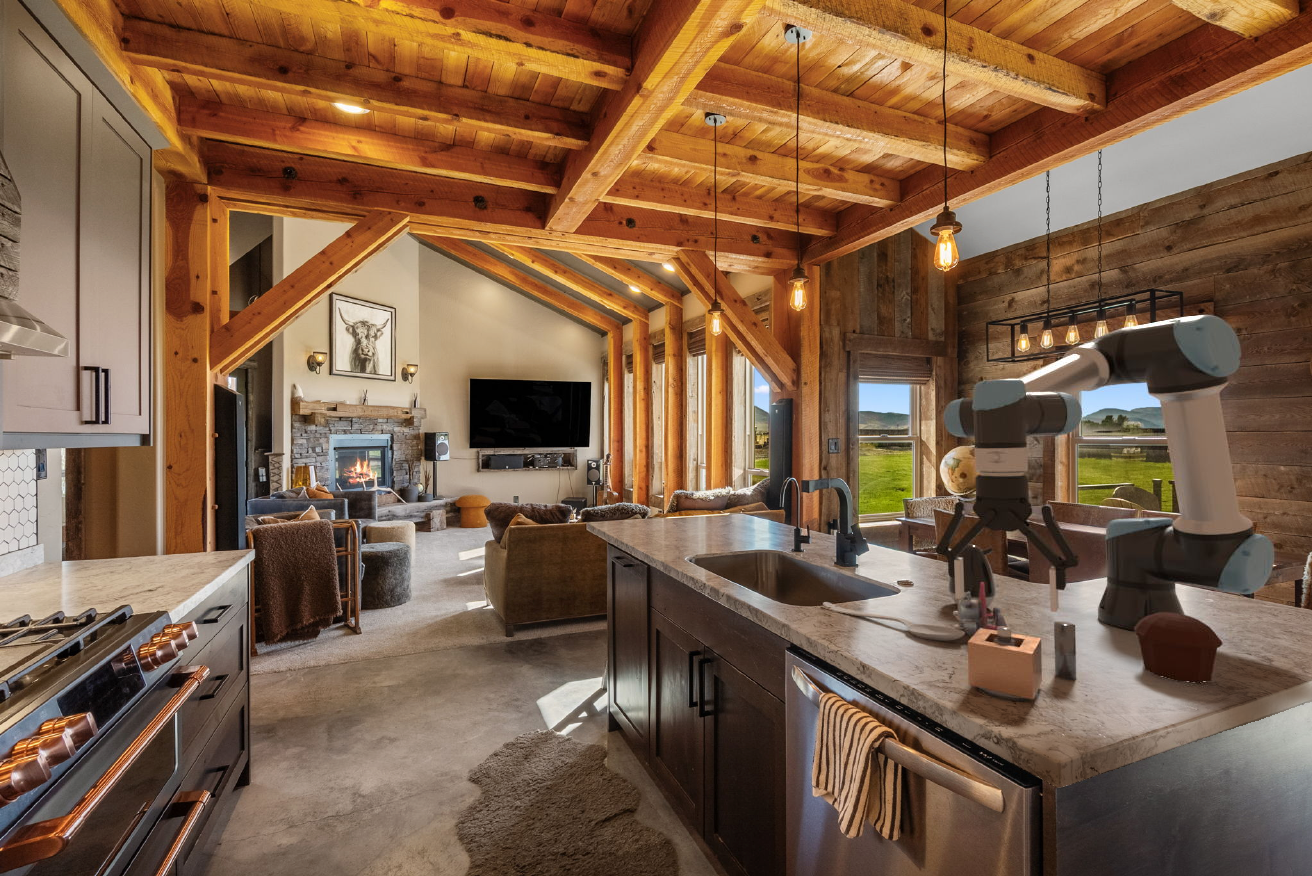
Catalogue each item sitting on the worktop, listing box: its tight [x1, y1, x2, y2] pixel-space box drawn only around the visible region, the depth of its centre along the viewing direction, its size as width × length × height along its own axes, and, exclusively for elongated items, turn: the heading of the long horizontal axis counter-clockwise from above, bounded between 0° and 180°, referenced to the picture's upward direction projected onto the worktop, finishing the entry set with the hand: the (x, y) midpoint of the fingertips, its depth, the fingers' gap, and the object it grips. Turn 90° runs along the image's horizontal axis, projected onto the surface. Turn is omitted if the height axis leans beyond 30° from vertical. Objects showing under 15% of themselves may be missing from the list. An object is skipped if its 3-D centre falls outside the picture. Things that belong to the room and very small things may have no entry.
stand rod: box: [1053, 621, 1077, 681], centre depth 102 cm, size 3×3×9 cm
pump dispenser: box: [948, 543, 997, 609], centre depth 145 cm, size 10×10×15 cm
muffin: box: [1133, 612, 1224, 684], centre depth 103 cm, size 12×11×10 cm
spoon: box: [822, 601, 966, 642], centre depth 133 cm, size 35×8×3 cm, turn 34°
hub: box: [974, 626, 1039, 702], centre depth 97 cm, size 9×9×10 cm
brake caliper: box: [952, 582, 1008, 639], centre depth 125 cm, size 11×11×12 cm
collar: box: [967, 628, 1043, 700], centre depth 97 cm, size 9×9×7 cm
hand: (1005, 603), depth 97 cm, fingers open, 13 cm apart
